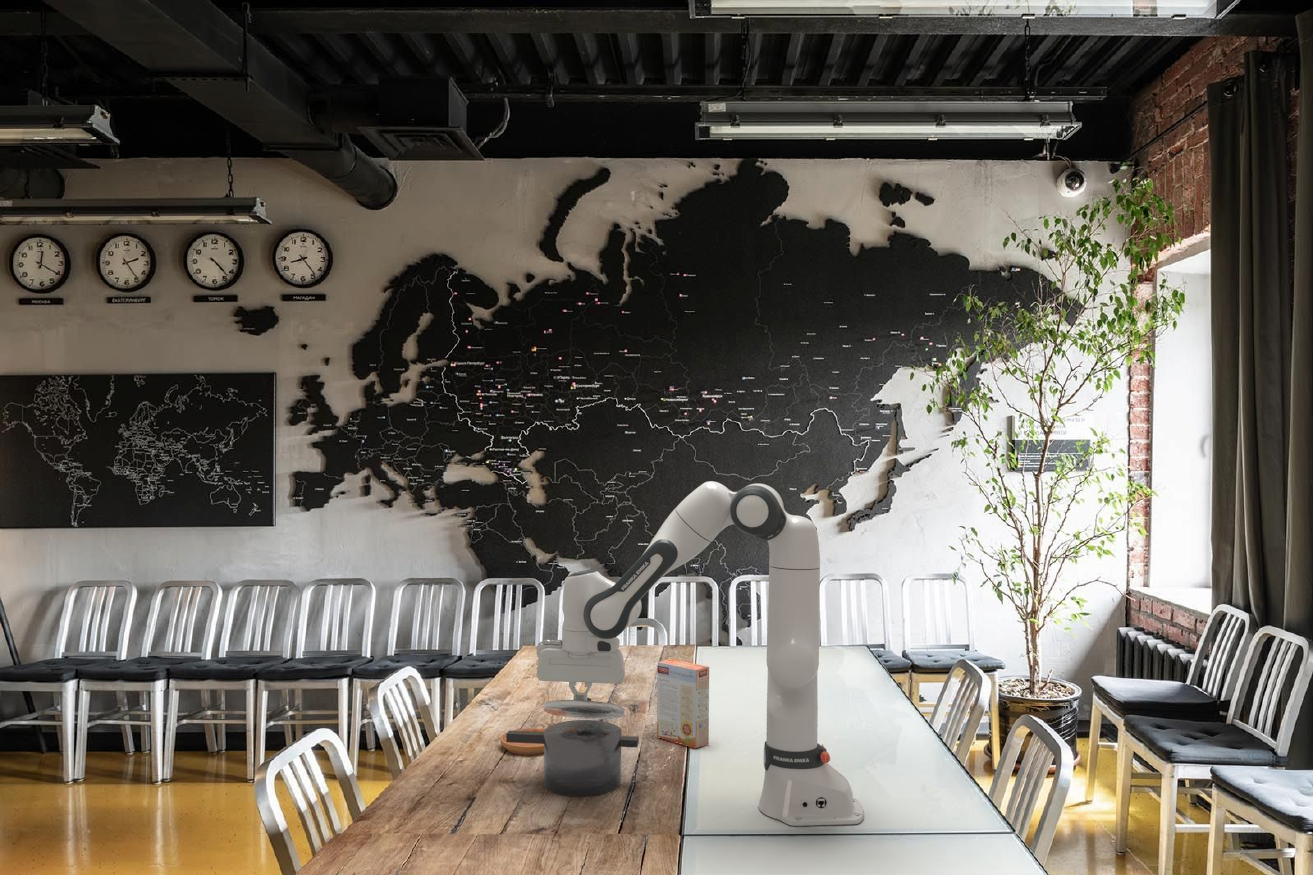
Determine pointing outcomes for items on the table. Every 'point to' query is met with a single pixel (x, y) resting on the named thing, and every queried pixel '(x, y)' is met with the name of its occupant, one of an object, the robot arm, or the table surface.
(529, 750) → the saucer
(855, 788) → the table surface
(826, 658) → the table surface
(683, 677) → the cracker box
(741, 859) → the table surface
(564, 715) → the pot lid
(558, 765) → the cooking pot
